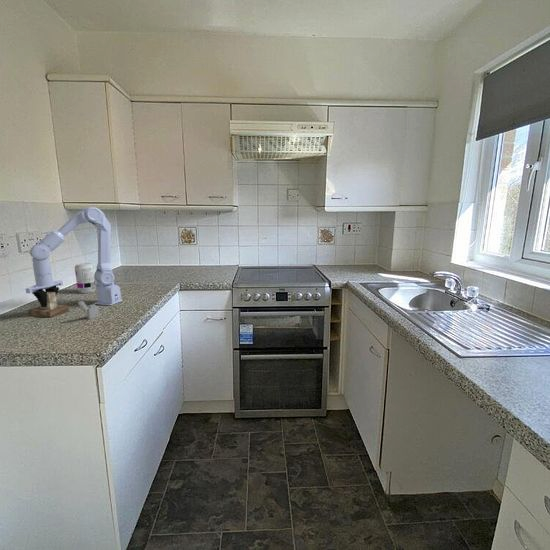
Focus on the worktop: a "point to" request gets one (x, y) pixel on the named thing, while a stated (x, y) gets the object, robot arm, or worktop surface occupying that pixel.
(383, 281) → the worktop surface
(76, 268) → the supplement can
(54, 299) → the peg
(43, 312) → the holder
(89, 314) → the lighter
